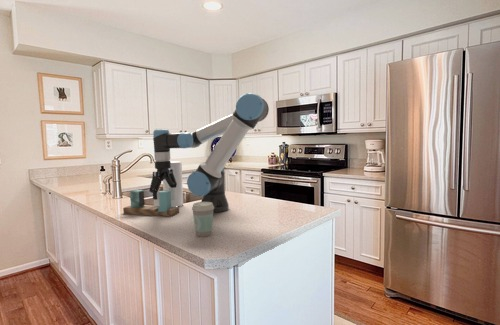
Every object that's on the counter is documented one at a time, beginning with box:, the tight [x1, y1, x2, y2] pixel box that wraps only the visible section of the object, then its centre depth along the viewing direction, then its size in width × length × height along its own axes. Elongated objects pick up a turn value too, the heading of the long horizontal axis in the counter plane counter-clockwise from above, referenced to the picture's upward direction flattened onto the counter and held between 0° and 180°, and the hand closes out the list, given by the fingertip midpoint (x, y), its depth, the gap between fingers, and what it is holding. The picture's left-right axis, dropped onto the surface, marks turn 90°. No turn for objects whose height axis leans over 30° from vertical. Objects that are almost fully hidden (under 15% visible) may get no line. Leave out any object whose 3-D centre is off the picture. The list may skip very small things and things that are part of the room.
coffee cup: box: [191, 201, 214, 238], centre depth 107 cm, size 9×9×12 cm
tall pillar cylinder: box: [162, 160, 184, 207], centre depth 157 cm, size 11×11×25 cm
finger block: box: [158, 190, 171, 212], centre depth 139 cm, size 6×4×10 cm
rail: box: [122, 189, 180, 217], centre depth 141 cm, size 28×7×12 cm, turn 74°
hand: (164, 202), depth 139 cm, fingers open, 13 cm apart
